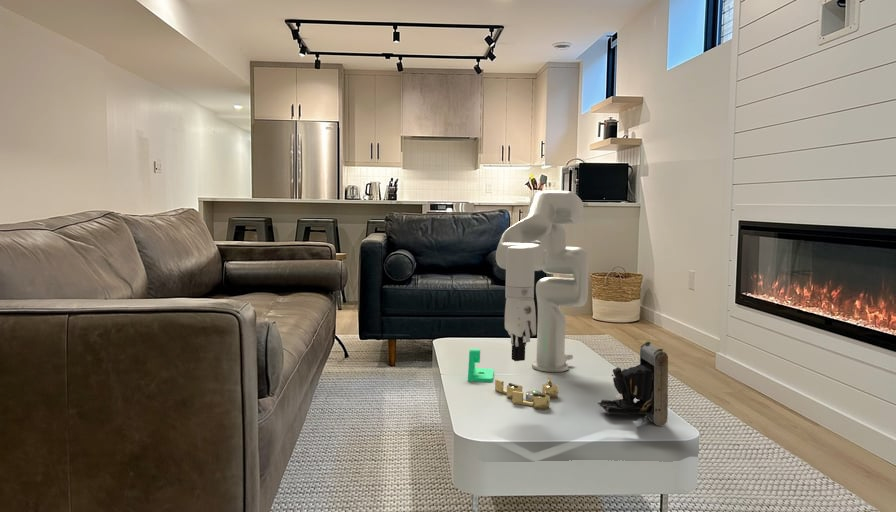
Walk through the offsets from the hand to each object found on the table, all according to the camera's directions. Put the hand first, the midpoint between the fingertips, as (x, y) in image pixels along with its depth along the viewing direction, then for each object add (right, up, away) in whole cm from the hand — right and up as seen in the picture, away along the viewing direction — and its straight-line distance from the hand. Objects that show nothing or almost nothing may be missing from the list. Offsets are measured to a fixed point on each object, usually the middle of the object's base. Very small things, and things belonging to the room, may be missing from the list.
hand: (518, 359), depth 155 cm
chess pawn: (+32, -14, +10) cm, 36 cm away
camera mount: (-8, -12, +29) cm, 33 cm away
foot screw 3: (+11, -12, +13) cm, 20 cm away
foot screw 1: (-2, -12, +11) cm, 16 cm away
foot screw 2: (+4, -13, +1) cm, 13 cm away
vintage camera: (+29, -15, -5) cm, 33 cm away
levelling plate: (+5, -14, +6) cm, 16 cm away
